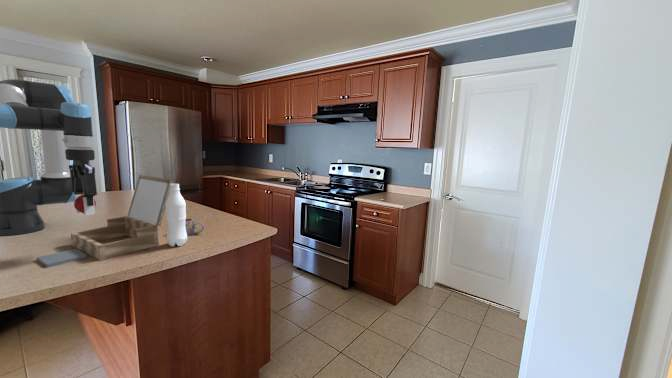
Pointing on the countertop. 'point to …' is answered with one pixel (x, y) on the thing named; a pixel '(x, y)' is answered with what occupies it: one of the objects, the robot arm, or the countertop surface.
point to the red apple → (80, 204)
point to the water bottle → (176, 217)
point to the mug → (192, 227)
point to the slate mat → (61, 257)
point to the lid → (150, 199)
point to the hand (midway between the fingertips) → (85, 213)
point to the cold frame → (137, 229)
